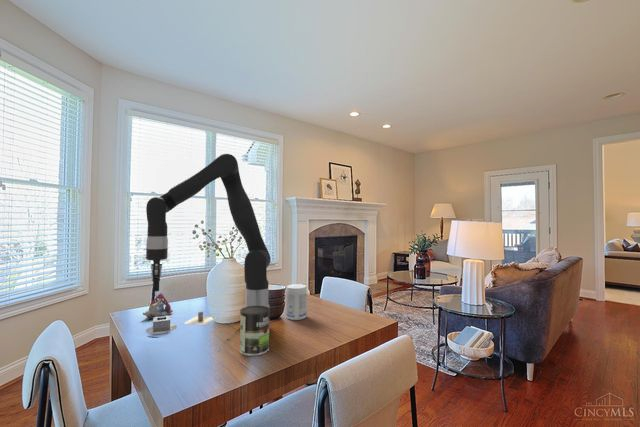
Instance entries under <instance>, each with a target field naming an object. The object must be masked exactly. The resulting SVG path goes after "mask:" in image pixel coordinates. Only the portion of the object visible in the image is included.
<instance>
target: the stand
mask: <svg viewBox="0 0 640 427" xmlns="http://www.w3.org/2000/svg"><path fill="white" fill-rule="evenodd" d="M197 314H198V315H195V316H193V317H191V318H190V319H189V320H186V321H185V322H184V323H183V324H184V325H185V324H186V325H197V326H199V325H200V326H206V325H208V324H210V323H211V322H213V321H214V320H215V319H213V318H212V317H213V316H204V311H198V313H197Z"/></svg>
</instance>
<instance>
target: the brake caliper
mask: <svg viewBox="0 0 640 427" xmlns="http://www.w3.org/2000/svg"><path fill="white" fill-rule="evenodd" d="M171 308H172V307H171V305H170V303H169V302H168V300H167V299H166V297H165V296H164V295H163V293H161V292H160V293H158V294H157V296H156V297H155V298H154V299H153V300H152V301H151V303H150V304H149V307H148V310H146V311H143V312H142V315H143V316H145V318H143V319H142V320H143V321H146V320H153V318H154V317H162V316H170V314H172V312H174V310H173V309H171Z"/></svg>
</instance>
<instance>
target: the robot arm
mask: <svg viewBox="0 0 640 427" xmlns="http://www.w3.org/2000/svg"><path fill="white" fill-rule="evenodd" d="M219 178H220V180H221V182H222V184H223V186H224V188H225V189H224V190H225V192H226V198H227V203H228V207H229V212H230V215H231V218H232V220H233V223H234V226H236V229H237V230H238V232H239V233H240V235H241V236H242V238H243V239H244V241H245V243H246V246H247V247H246V248H247V249H248V253H247V254H246V256H245V258H244V266H243V267H244V270H243V271H244V272H243V273H244V275H243V276H244V283H245V307H249V306H265V307H268V308H270V306H271V305H270V304H269V280H268V277H267V275H268V274H267V268H268V267H269V266H270V264H271V255H270V252H269V249H268V248H267V246H266V244H265V241H264V239H263V236H262V234H261V231H260V227H259V223H258V221H257V218H256V214H255V212H254V208H253V206H252V203H251V200H250V197H249V196H248V194H247V192H246V191H245V188H244V186H243V184H242V179H241V176H240V169H239V164H238V160H237V158H236V156H234V155H232V154H230V153H223V154H220V155H219V156H217V157H216V158H215V159H213V161H211V162H210V163H209V164H208V165H206V166H205V167H204V168H202V169H200V171H198V172H196V173H195V174H194V175H192V176H190V177H188V178H187V179H185V180H183V181H181V182H180V183H177V184H176V185H174V186H173V187H171V188H170V189H169V190H168V191H167V192H165V193H164V194H162V195H161V196H159V197H158V196H153V197H151V198H150V199H149V200H148V201H147V203H146V206H145V207H146V208H145V209H146V210H145V211H146V212H145V213H146V220H147V236H146V242H145V243H146V247H145V248H146V249H145V254H146V255H145V259H146V260H147V261H153V263H151V264H150V270H151V275H150V276H151V277H152V279H151V281H152V291H153V292H154V293H155V292H159V291H160V281H161V276H162V269H163V262H162V263H161V261H164V260H168V253H169V252H168V249H169V248H168V246H169V245H168V244H169V240H168V223H167V220H166V219H167V213H169V212H170V211H172V210H173V209H175V208H176V207H177V206H179V205H180V204H182V203H184V202H186V201H188V200H189V199H191V198H193V197H194V196H196V195H197V194H198V193H199V192H201V191H202V190H203V189H204V188H205V187H206V186H207V185H208V186H209V184H210V183H212V182H213V181H215V180H217V179H219Z"/></svg>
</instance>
